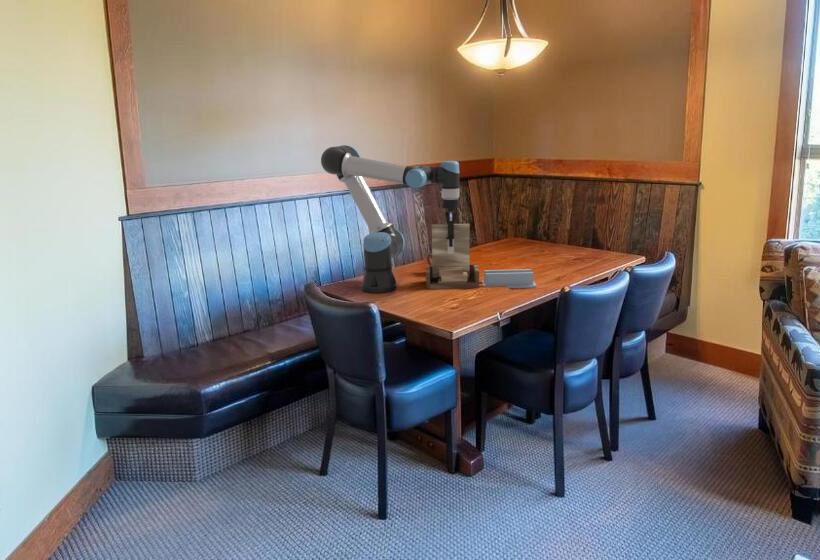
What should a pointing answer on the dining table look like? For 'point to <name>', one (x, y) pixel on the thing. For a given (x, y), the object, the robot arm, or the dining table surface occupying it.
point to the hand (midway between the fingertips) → (450, 253)
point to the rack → (471, 283)
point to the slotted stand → (509, 278)
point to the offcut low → (451, 281)
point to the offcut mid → (455, 277)
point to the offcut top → (450, 271)
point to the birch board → (441, 248)
